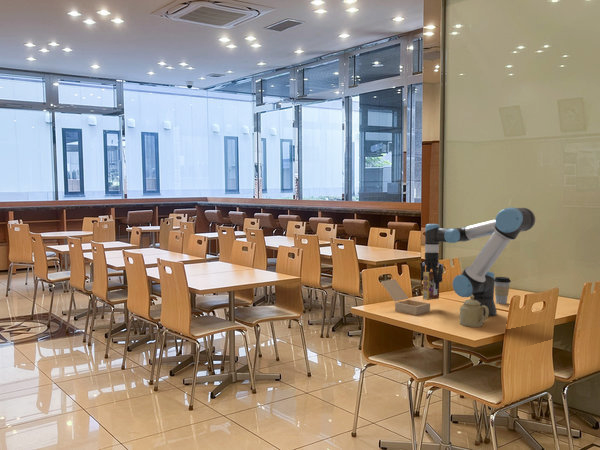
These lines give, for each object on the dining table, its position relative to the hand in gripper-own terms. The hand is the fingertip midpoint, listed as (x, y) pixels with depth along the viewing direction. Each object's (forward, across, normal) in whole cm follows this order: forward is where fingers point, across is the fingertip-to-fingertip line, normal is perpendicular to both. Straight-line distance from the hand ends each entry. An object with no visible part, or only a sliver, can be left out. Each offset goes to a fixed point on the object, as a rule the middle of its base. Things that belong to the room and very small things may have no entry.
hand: (431, 294), depth 313 cm
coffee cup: (+9, -18, -47) cm, 51 cm away
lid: (-2, +14, +14) cm, 20 cm away
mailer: (+8, +3, +14) cm, 16 cm away
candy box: (+3, 0, 0) cm, 3 cm away
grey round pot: (+9, -35, +17) cm, 40 cm away
